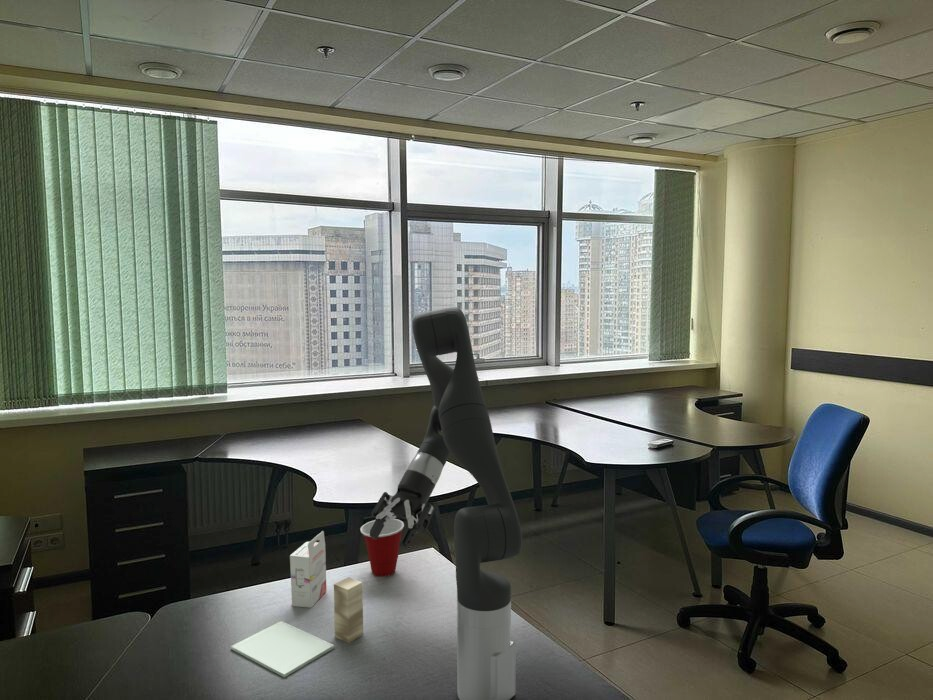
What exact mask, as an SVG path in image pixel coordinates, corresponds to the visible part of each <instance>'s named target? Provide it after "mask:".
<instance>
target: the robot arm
mask: <svg viewBox="0 0 933 700" xmlns="http://www.w3.org/2000/svg"><path fill="white" fill-rule="evenodd" d="M412 333H413V340H414V344H415V347H416V349H417V353H418V356H419V359H420V362H421V364H422V367H423V370H424V372H425V374H426V376H427V379H428V382H429V385H430V389H431V395H432V400H433V406H432V408H431V411H430V414H429V420H428V425H427V428H426V432H425V435H424V438H423V440H422V443H421V444H420V446H419V449H418V450H417V452H416V454H415V455H414V457H413V458H412V459H411V461H410V463H408V464H409V465H408V467H407V468H406V470H405V472H404V473H403V475H402V477H401V479H400V481H399V483H398V484H397V491H396V493H395V494H394V495H391V494H389V493H388V492H387V491H384V492H383V493H382V495H381V496H380V497H379V499H378V501H377V503H376V504H375V505H374V508H373V509H372V511H371V516H373V517H374V518H375V520H376V521H375V523H374V524H373V526H372V528H371V530H370V536H371V537H372V538H373V539H377V538H378V536H379V535H380V533H381V531H382V529H383V527H384V524H385V523H386V522H388V521H389V520H393V519H403V520H404V521H407V527H408V528H407V527H406V528H405V531H404V532H403V534H402V535H401V539H400V542H399V545H400V546H399V547H401V548H402V549H407V548H408V547H409V546H410V545H411V543H412V541H413V539H414V537H415V535H416V534H418V533H421V534H424V533H425V532H427V529H428V527H429V525H430V522H431V521H432V520H431V519H432V517H433V516H434V513H435V510H436V509H435V507H434V506H433V504H431V503H430V502H428V501H429V499H430V497H431V495H432V493H433V491H434V489H435V487H436V486H437V483H438V481H439V480H440V478H441V475H442V472H443V469H444V466H445V465H446V464H447V461H448V459H449V457H450V455H452V456H453V457H454V459H455V460H456V461H457V462H458V463H459V464H461V466H462V467H463V468H464V469H465V470H466V471H467V472H468V473H469V474H470V475H471V476H472V477H473V478H474V480H475V481H476V482H477V483H478V485H479V487H480V488H481V491H482V492H483V494H484V496H485V499H486V502H487V504H484V505H475V506H468V507H463V508H460V509H459V510H457V512H456V514H455V517H454V522H453V532H454V533H453V537H454V539H453V540H454V553H455V554H454V555H455V579H456V592H457V593H456V603H457V604H456V605H457V606H456V611H457V612H456V614H457V615H456V625H457V626H456V627H457V628H456V636H457V637H456V638H457V639H456V646H457V647H456V652H457V653H456V655H457V657H456V664H457V665H456V670H457V671H456V674H457V675H456V676H457V678H456V680H457V682H456V684H457V685H456V687H457V688H456V689H457V690H456V692H457V693H456V694H457V697H458V699H459V700H511V699H512V698H513V697H514V696H516V662H517V661H516V655H517V654H516V647H517V646H516V642H515V641H514V640H511V639H512V638H511V637H512V635H511V634H512V633H511V631H512V629H511V627H512V586H511V582H510V581H509V580H508V579H507V578H506V577H505V576H503V575H501V574H499V573H497V572H495V571H494V572H493V571H489V570H485V569H482V568H481V564H482V563H489V562H495V561H496V562H497V561H503V560H507V559H509V560H510V559H513V558H516V557H518V556H519V555H520V553H521V551H522V547H523V534H522V533H523V532H522V528H521V522H520V520H519V515H518V512H517V510H516V507H515V503H514V501H513V497H512V494H511V491H510V488H509V486H508V483H507V481H506V478H505V473H504V471H503V467H502V465H501V461H500V457H499V453H498V449H497V445H496V441H495V436H494V433H493V427H492V422H491V419H490V414H489V410H488V407H487V404H486V401H485V398H484V394H483V390H482V386H481V383H480V379H479V377H478V372H477V367H476V362H475V357H474V352H473V348H472V342H471V341H472V340H471V337H470V335H471V334H470V331H469V326H468V323H467V318H466V316H465V314H464V312H463V310H462V309H461V308H459V307H457V306H449V307H444V308H440V309H434V310H430V311H429V310H428V311H423V312H421V313H418V314H415V316H414V317H413V318H412ZM452 353H456V359H455V365H454V368H452V367H451V366H450V365H449V364H447V363H446V362H444V361H442V360H441V359H440V358H439V357H438V356H442V355H449V354H452ZM440 432H442V433H441V434H442V435H441V434H440ZM391 511H392V512H391ZM419 513H420V515H419ZM418 515H419V516H418Z"/></svg>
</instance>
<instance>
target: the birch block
mask: <svg viewBox="0 0 933 700" xmlns="http://www.w3.org/2000/svg"><path fill="white" fill-rule="evenodd" d="M363 587H364V586H363V582H362V581H360V580H357V579H354V578H351V577H349V576H348V577H346V578H344V579H342V580H340V581H337V582H336V583H334V584H333V600H334V601H333V602H334V603H333V605H334V606H333V609H334V612H333V613H334V637H335V638H336V639H339V640H341V641H342V642H345V643H348V644H351V643H352V642H353V641H354V640H356V639H358V638H360V637H361V636H363V635H364V604H363V603H364V601H363V597H364V595H363V591H364V590H363Z"/></svg>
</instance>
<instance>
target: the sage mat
mask: <svg viewBox="0 0 933 700" xmlns="http://www.w3.org/2000/svg"><path fill="white" fill-rule="evenodd" d="M334 648H335V644H332V643H331V642H329V641H325V640H324V639H322V638H320V637H318V636H315V635H314V634H311V633H309V632H307V631H304V630H302V629H299V628H298V627H295V626H293V625H291V624H288V623H286V622H284V621H282V620H280V621H278V622H277V623H275V624H273V625H270V626H269V627H268V626H267V628H264V629H262V630H261V631H258V632H257V633H255V634H252V635H251V636H249V637H246V638H245V639H243V640H241V641H238V642H237V643H234V644H233V645H231V646H230V649H231V650H232V651H234V652H235V653H238V654H239V655H242V656H243V657H244V658H247V659H249V660H250V661H252V662H254V663H256V664H258V665H260V666H262V667H263V668H266V669H267V670H269V671H271V672H273V673H276V675H279V676H280V677H283V678H286V677H288V676H290V675H292V674H293V673H295V672H296V671H298V670H299V669H301V668H303V667H305V666H306V665H308V664H310V663H311V662H313V661H315V660H316V659H319V658H320V657H321V656H323V655H325V654H326V653H328V652H329V651H332V650H333V649H334Z"/></svg>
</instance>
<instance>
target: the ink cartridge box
mask: <svg viewBox="0 0 933 700" xmlns="http://www.w3.org/2000/svg"><path fill="white" fill-rule="evenodd" d="M317 541H318V542H317ZM326 555H327V554H326V540H325V531H324V530H322V531H321V532H320V533H318V534H317V535H316V536H314V537H313V538H312V539H311V540H310V541H306V542H304V543H303V544H302V545H301V546H299V547H298V548H297V549H296V550H295V551H293V552H292V553H291V554H290V555H289V564H290V566H289V567H290V569H289V570H290V586H291V587H290V588H291V589H290V592H291V606H292V607H302V608H310V609H311V608H312V607H313V606H315V604H316V603H317V602H318V600H320V599H321V597H322V596H323V595H324V594H325V593H326V591H327V563H326V561H327V558H326Z"/></svg>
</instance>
